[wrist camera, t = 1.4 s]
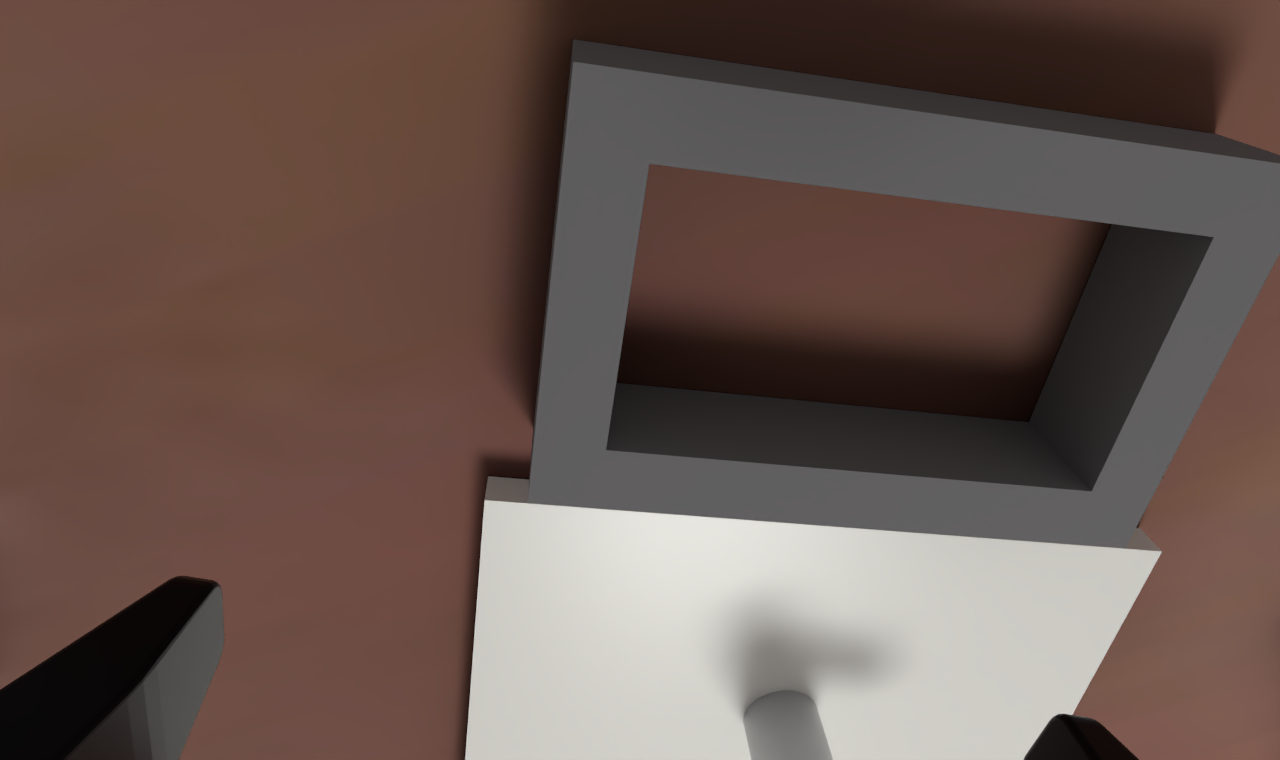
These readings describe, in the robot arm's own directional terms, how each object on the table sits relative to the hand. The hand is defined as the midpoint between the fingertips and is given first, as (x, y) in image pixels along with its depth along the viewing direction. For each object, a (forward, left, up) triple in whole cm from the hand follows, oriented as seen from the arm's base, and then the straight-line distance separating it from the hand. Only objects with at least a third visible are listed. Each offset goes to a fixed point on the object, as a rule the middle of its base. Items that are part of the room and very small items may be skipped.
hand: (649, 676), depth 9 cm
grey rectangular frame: (+6, 0, -11) cm, 13 cm away
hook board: (+7, -13, -11) cm, 18 cm away
